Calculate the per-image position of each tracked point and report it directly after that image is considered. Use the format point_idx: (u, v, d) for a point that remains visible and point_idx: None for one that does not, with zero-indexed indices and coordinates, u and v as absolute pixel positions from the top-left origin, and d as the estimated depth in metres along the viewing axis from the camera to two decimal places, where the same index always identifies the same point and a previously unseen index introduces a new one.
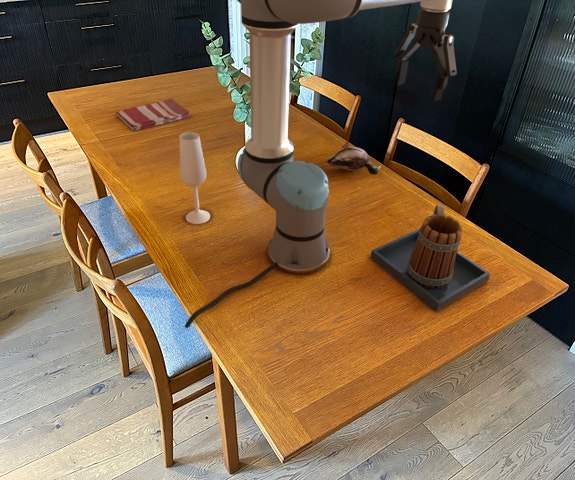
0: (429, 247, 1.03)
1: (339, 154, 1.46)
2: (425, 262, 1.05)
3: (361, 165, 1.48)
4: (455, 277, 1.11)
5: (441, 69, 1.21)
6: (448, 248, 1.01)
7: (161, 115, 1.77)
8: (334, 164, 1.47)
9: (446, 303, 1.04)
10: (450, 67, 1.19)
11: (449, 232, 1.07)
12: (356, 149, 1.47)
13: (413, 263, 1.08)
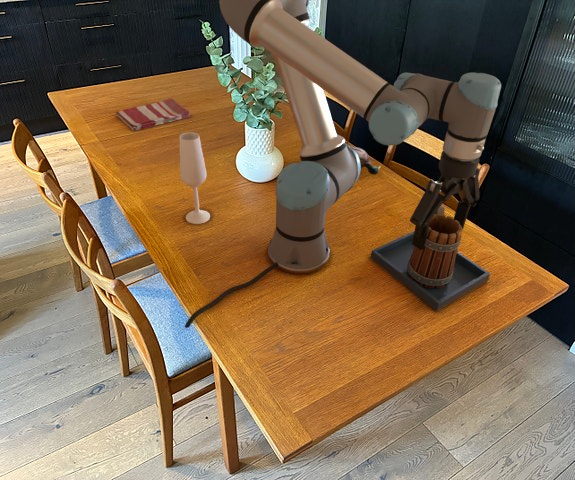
0: (429, 247, 1.03)
1: None
2: (425, 262, 1.05)
3: (361, 165, 1.48)
4: (455, 277, 1.11)
5: None
6: (448, 248, 1.01)
7: (161, 115, 1.77)
8: None
9: (446, 303, 1.04)
10: (414, 213, 0.98)
11: (449, 232, 1.07)
12: (356, 149, 1.47)
13: (413, 263, 1.08)
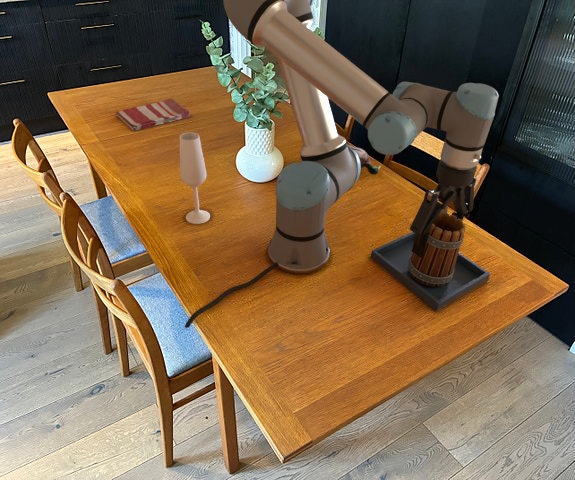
0: (432, 244, 1.03)
1: None
2: (427, 259, 1.05)
3: (361, 165, 1.48)
4: (455, 277, 1.11)
5: None
6: (451, 246, 1.01)
7: (161, 115, 1.77)
8: None
9: (446, 303, 1.04)
10: (414, 222, 1.00)
11: (452, 231, 1.07)
12: (356, 149, 1.47)
13: (415, 261, 1.08)
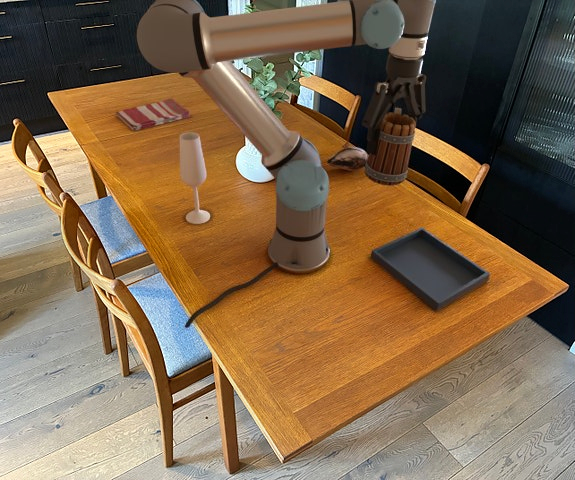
0: (384, 140, 1.08)
1: (339, 154, 1.46)
2: (380, 156, 1.10)
3: (361, 165, 1.48)
4: (455, 277, 1.11)
5: None
6: (401, 140, 1.06)
7: (161, 115, 1.77)
8: (334, 164, 1.47)
9: (446, 303, 1.04)
10: (365, 116, 1.05)
11: None
12: (356, 149, 1.47)
13: (370, 160, 1.13)
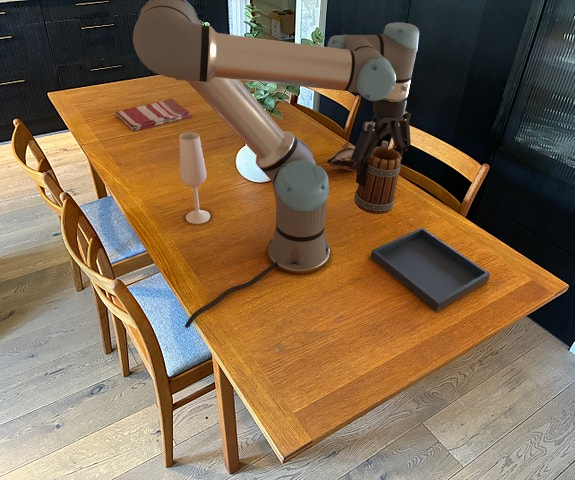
0: (371, 173, 1.15)
1: (339, 154, 1.46)
2: (368, 188, 1.18)
3: None
4: (455, 277, 1.11)
5: None
6: (388, 173, 1.14)
7: (161, 115, 1.77)
8: (334, 164, 1.47)
9: (446, 303, 1.04)
10: (354, 151, 1.13)
11: None
12: None
13: (359, 191, 1.21)
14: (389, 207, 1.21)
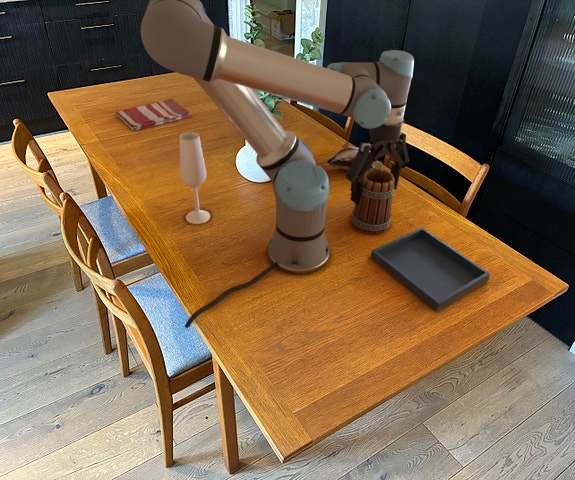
0: (366, 196, 1.19)
1: (339, 154, 1.46)
2: (364, 209, 1.21)
3: None
4: (455, 277, 1.11)
5: None
6: (382, 196, 1.18)
7: (161, 115, 1.77)
8: (334, 164, 1.47)
9: (446, 303, 1.04)
10: (349, 171, 1.16)
11: None
12: (356, 149, 1.47)
13: (355, 212, 1.25)
14: (385, 226, 1.24)
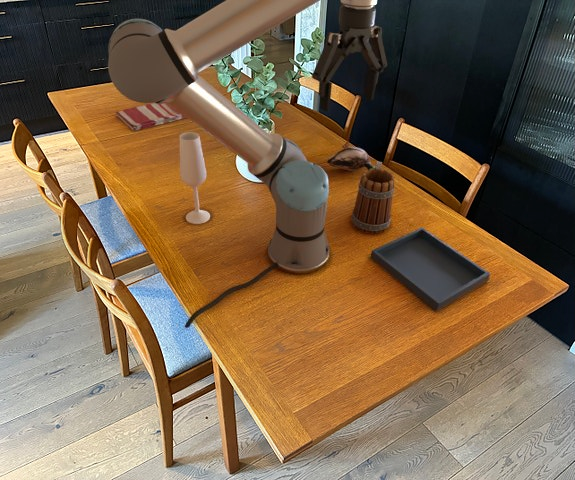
0: (366, 195, 1.19)
1: (339, 154, 1.46)
2: (364, 209, 1.21)
3: (361, 165, 1.48)
4: (455, 277, 1.11)
5: None
6: (382, 196, 1.18)
7: (161, 115, 1.77)
8: (334, 164, 1.47)
9: (446, 303, 1.04)
10: (316, 68, 1.00)
11: None
12: (356, 149, 1.47)
13: (355, 212, 1.25)
14: (385, 226, 1.24)
